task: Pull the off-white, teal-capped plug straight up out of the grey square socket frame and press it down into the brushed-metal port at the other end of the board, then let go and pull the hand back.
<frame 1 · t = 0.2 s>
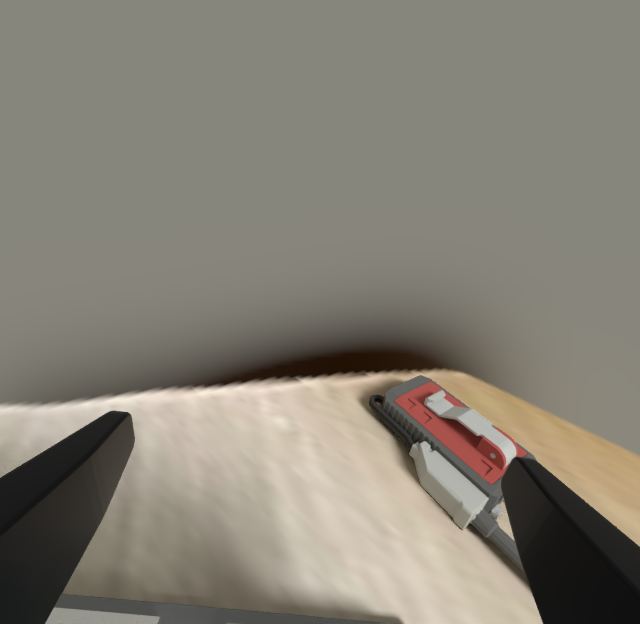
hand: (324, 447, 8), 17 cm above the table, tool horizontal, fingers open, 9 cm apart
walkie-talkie: (469, 483, 28), on the table
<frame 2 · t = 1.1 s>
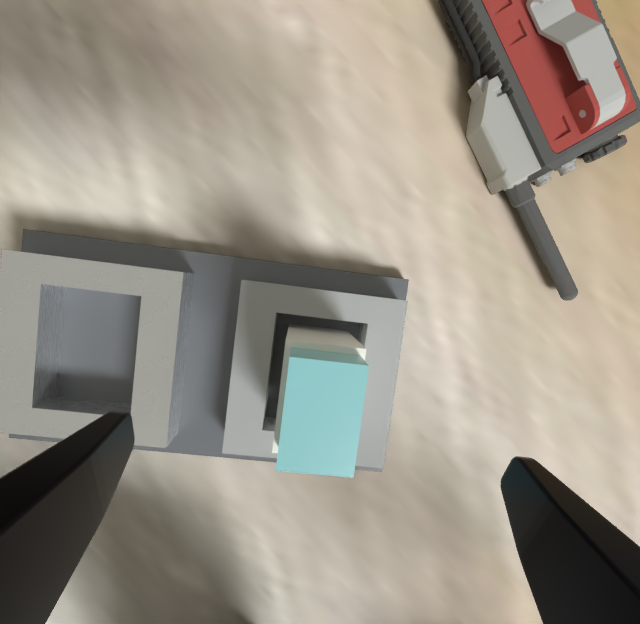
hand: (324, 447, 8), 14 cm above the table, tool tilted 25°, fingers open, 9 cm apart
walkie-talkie: (530, 135, 23), on the table
plug: (313, 368, 21), point 1 cm above the table, touching station board
station board: (215, 354, 22), on the table
grey square socket frame: (312, 365, 22), resting on station board
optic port: (114, 343, 21), resting on station board
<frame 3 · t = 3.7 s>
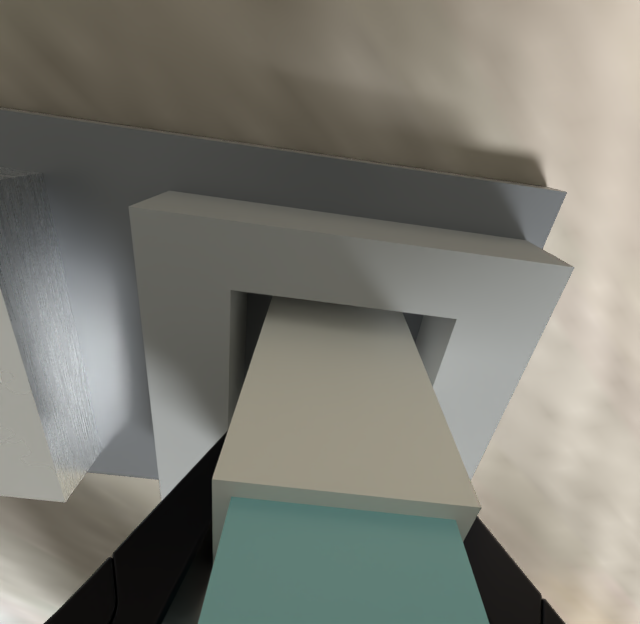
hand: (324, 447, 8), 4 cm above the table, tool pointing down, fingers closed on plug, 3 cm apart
plug: (325, 369, 11), point 1 cm above the table, touching gripper, station board
station board: (141, 332, 12), on the table
grey square socket frame: (325, 355, 12), resting on station board
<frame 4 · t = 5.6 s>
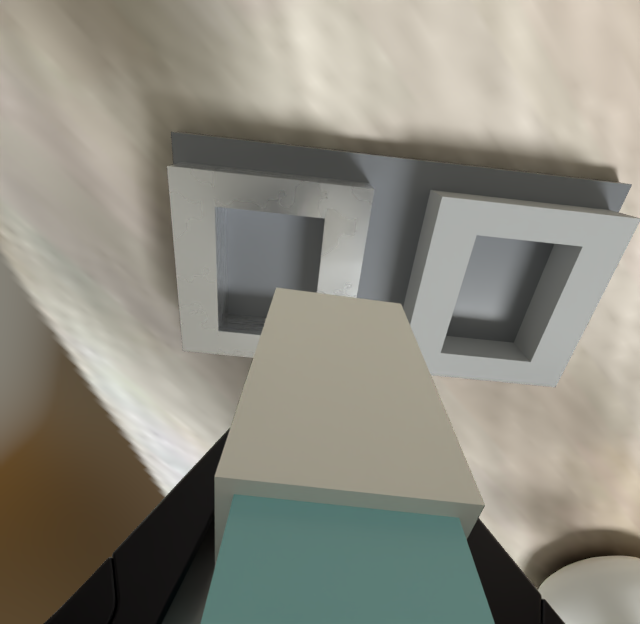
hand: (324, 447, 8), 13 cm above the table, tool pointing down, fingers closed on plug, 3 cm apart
flower in vase: (592, 569, 33), on the table
plug: (326, 368, 11), point 10 cm above the table, touching gripper
station board: (380, 271, 20), on the table
grey square socket frame: (484, 282, 20), resting on station board
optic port: (275, 260, 20), resting on station board
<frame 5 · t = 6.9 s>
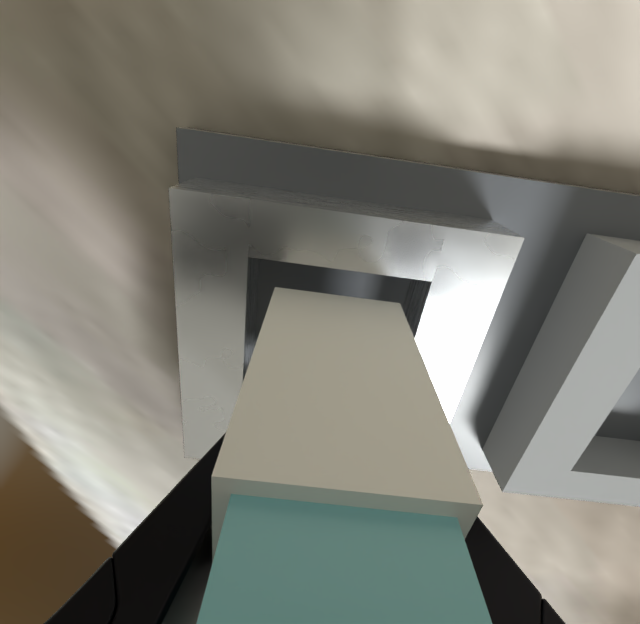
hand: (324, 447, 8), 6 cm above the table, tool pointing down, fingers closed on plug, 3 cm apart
plug: (325, 368, 11), point 3 cm above the table, touching gripper
station board: (478, 342, 14), on the table
grey square socket frame: (625, 361, 14), resting on station board
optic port: (324, 323, 14), resting on station board
when the fingers open (4 cm above the table, at t = 7.5 s): plug stays where it is, resting on station board.
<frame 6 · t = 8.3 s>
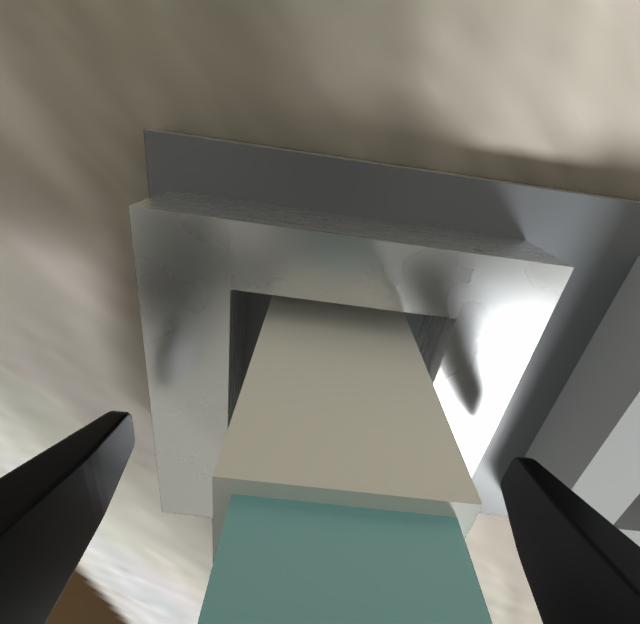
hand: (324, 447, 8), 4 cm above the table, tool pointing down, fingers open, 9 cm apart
plug: (325, 368, 11), point 1 cm above the table, touching station board
station board: (501, 376, 12), on the table
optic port: (325, 354, 12), resting on station board
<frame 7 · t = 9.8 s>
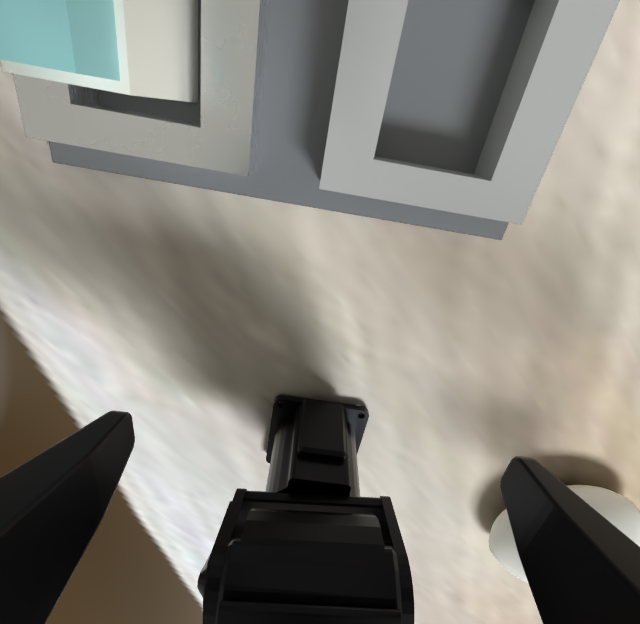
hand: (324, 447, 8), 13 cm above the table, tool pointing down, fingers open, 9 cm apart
flower in vase: (554, 506, 30), on the table
plug: (153, 22, 14), point 1 cm above the table, touching station board
station board: (304, 56, 15), on the table
grey square socket frame: (439, 83, 16), resting on station board
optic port: (161, 28, 15), resting on station board
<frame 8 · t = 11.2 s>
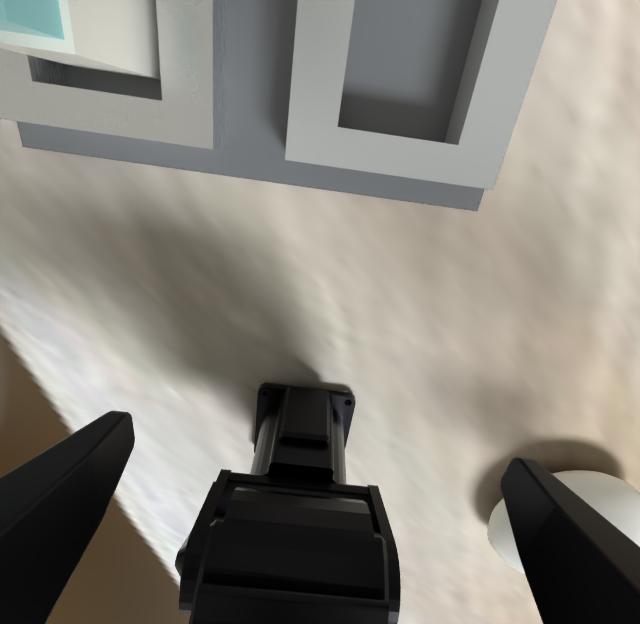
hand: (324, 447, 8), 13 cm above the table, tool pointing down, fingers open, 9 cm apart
flower in vase: (554, 495, 29), on the table
plug: (114, 0, 14), point 1 cm above the table, touching station board
station board: (266, 30, 15), on the table
grey square socket frame: (404, 52, 15), resting on station board
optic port: (124, 7, 15), resting on station board
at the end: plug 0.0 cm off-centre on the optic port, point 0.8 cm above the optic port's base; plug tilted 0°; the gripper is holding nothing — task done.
